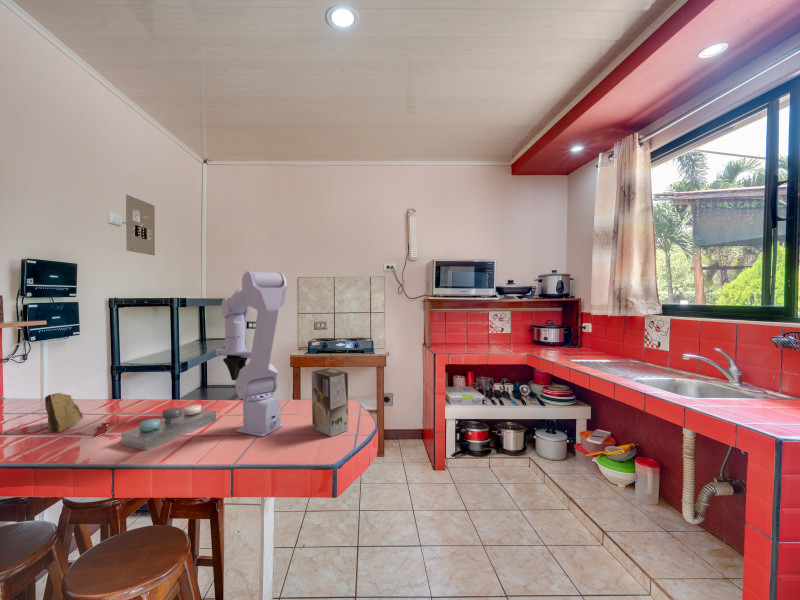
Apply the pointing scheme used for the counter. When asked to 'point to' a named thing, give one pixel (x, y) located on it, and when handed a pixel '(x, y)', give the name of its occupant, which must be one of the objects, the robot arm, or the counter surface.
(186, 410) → the button ivory
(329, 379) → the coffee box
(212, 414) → the panel
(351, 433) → the counter surface
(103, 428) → the cayenne pepper
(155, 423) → the button teal
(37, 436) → the counter surface
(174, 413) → the button charcoal
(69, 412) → the rock
